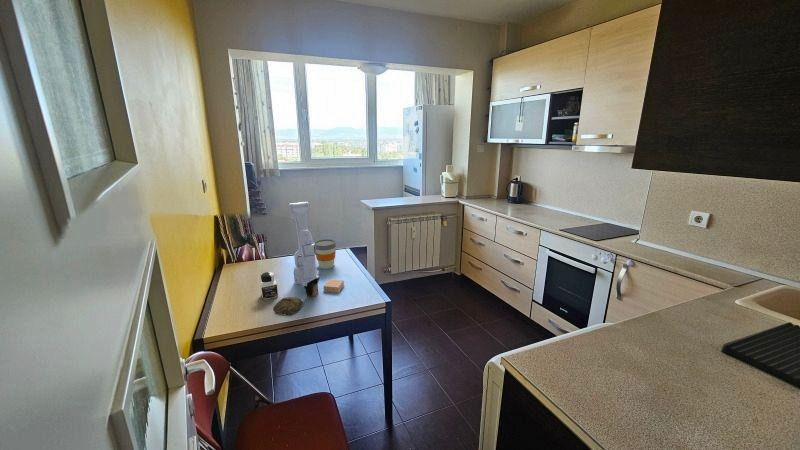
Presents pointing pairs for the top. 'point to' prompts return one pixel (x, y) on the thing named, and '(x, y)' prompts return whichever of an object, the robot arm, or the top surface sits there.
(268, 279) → the medicine bottle
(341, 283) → the terracotta tile
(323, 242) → the reusable coffee cup
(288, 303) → the bread roll
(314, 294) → the walnut block
